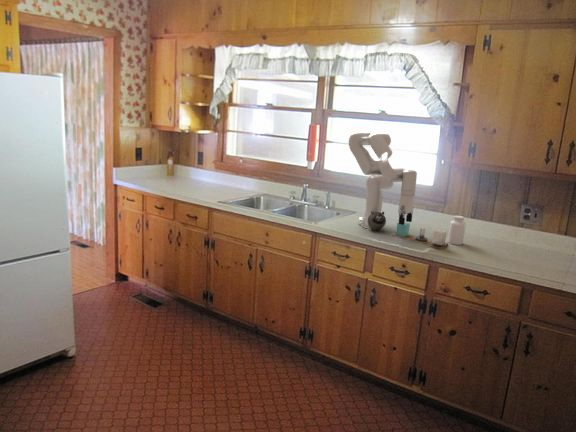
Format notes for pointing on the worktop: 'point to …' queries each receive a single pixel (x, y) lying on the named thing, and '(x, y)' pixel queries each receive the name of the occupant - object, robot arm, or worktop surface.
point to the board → (413, 238)
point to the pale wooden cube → (438, 238)
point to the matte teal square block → (402, 229)
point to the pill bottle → (456, 230)
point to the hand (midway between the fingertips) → (405, 223)
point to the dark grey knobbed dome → (421, 235)
